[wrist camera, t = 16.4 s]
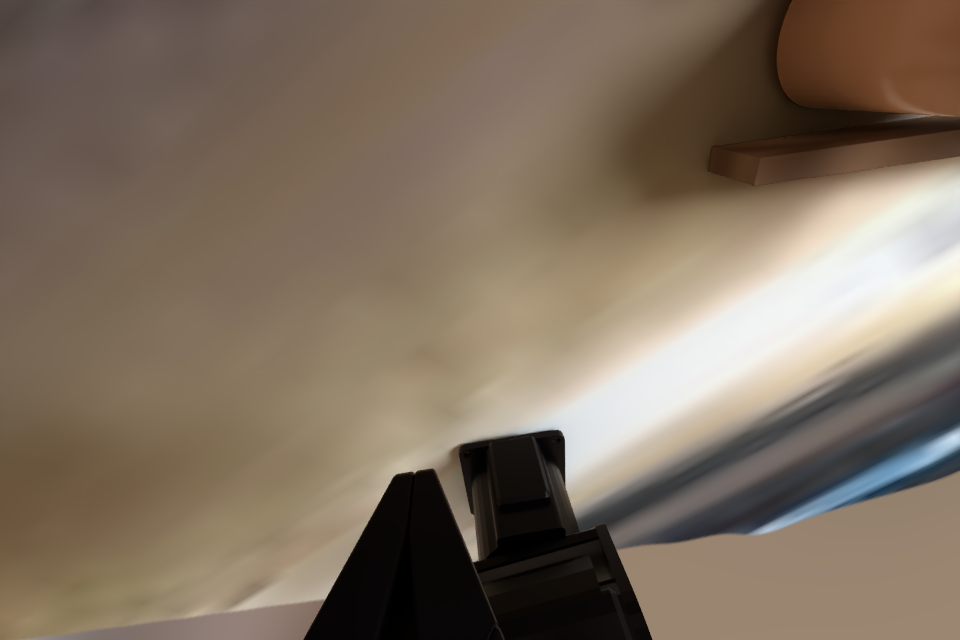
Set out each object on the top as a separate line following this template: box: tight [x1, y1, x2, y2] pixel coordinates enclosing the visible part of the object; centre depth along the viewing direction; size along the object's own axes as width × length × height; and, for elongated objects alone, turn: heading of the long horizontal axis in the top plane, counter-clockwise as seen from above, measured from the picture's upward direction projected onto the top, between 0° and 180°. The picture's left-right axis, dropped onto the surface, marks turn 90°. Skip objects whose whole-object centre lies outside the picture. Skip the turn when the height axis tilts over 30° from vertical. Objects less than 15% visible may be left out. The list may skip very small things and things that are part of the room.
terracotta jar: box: [777, 0, 960, 117], centre depth 12 cm, size 6×6×7 cm
